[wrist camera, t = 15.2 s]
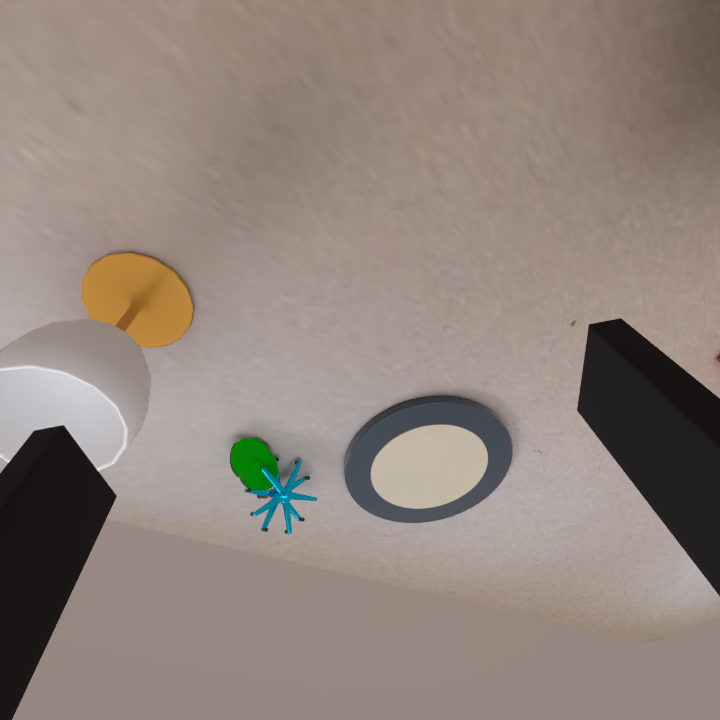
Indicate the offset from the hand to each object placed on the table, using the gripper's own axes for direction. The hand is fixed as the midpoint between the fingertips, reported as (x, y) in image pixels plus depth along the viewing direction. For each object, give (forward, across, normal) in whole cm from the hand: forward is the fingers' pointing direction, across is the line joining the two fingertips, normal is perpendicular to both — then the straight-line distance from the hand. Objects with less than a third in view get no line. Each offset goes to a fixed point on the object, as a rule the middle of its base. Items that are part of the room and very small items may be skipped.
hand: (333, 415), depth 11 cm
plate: (+28, +6, -33) cm, 44 cm away
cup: (+28, -18, -6) cm, 33 cm away
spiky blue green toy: (+28, -13, -29) cm, 42 cm away
